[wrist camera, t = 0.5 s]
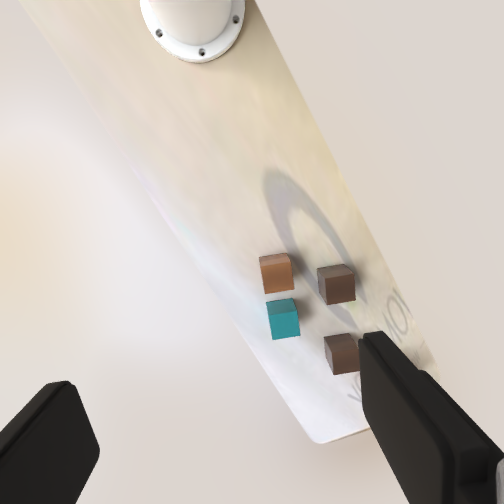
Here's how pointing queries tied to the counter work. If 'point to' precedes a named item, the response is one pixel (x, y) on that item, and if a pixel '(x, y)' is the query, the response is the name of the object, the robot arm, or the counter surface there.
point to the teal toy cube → (283, 319)
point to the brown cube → (342, 354)
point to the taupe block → (336, 284)
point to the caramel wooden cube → (276, 273)
